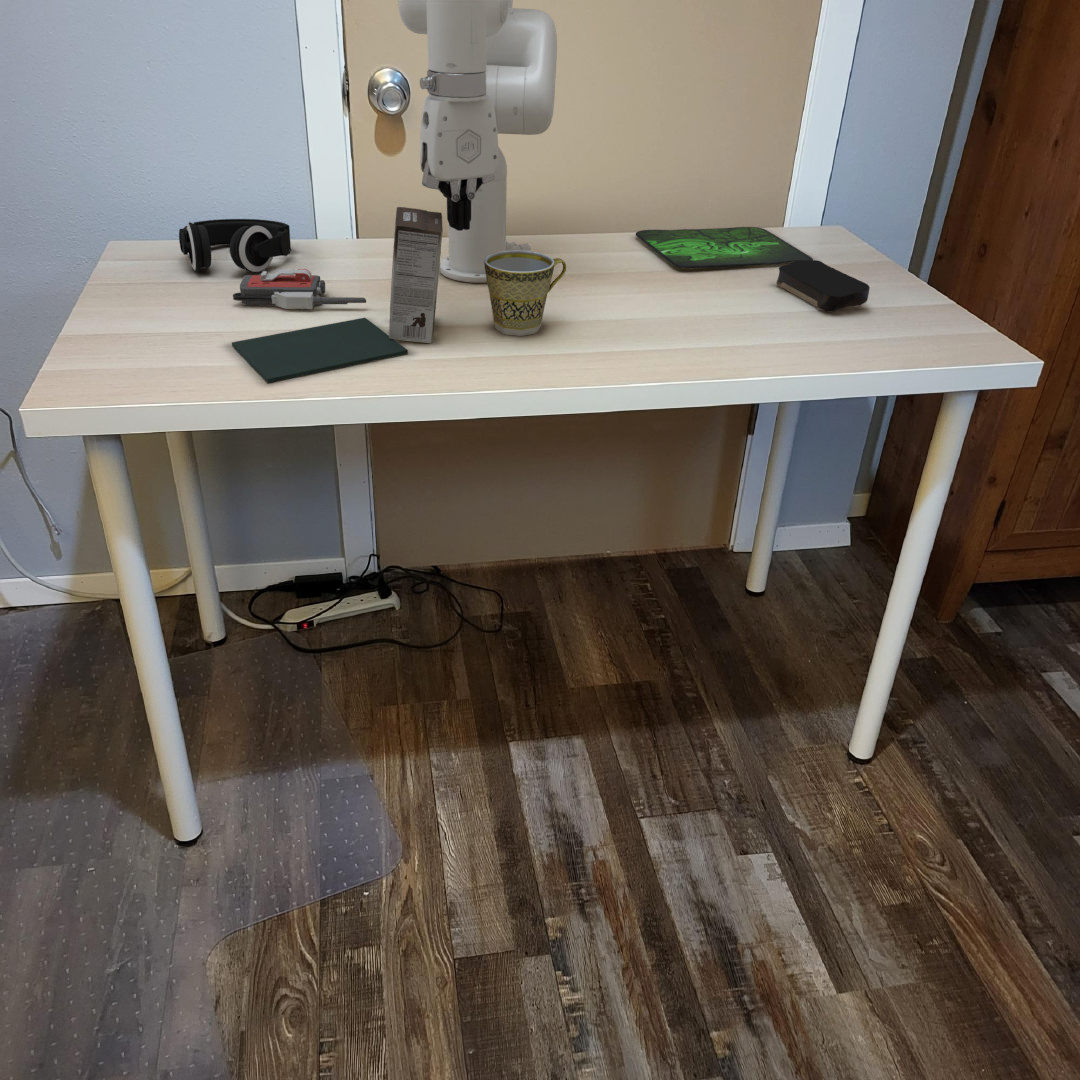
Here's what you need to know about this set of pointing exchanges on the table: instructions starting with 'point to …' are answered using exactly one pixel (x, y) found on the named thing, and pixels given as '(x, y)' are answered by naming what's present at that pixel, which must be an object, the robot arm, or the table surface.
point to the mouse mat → (721, 247)
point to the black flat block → (822, 285)
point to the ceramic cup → (519, 289)
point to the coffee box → (415, 274)
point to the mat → (317, 349)
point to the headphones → (236, 242)
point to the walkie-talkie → (287, 290)
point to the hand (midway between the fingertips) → (459, 227)
